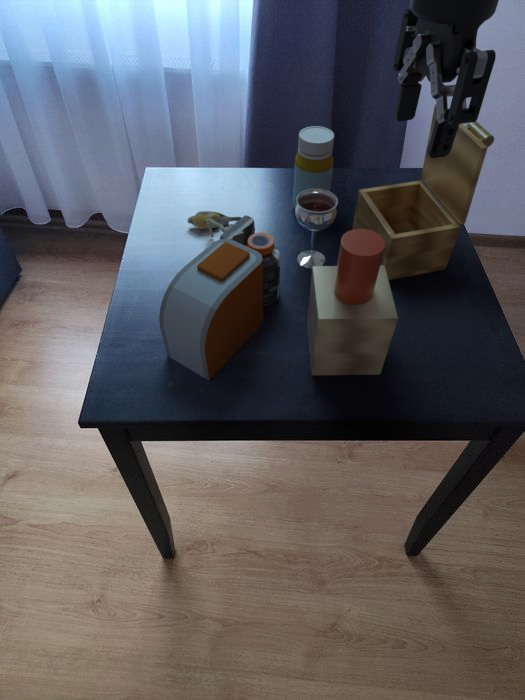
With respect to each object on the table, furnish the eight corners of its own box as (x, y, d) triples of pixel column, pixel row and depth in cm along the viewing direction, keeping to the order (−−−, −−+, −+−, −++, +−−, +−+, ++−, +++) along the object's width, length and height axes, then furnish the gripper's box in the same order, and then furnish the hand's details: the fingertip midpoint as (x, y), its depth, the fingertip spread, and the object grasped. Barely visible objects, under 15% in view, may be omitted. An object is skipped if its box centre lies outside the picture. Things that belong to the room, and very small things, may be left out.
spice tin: (378, 284, 63) (390, 235, 57) (366, 310, 60) (377, 261, 54) (341, 273, 65) (349, 223, 59) (327, 297, 62) (334, 248, 56)
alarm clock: (226, 297, 79) (220, 229, 68) (268, 318, 76) (268, 251, 65) (165, 354, 71) (147, 288, 61) (209, 381, 68) (199, 316, 58)
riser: (369, 323, 75) (384, 265, 66) (380, 374, 69) (398, 318, 59) (306, 324, 75) (312, 265, 66) (311, 375, 69) (318, 319, 59)
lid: (482, 148, 65) (516, 140, 66) (434, 103, 74) (465, 97, 74) (460, 225, 76) (490, 217, 76) (420, 178, 84) (447, 171, 84)
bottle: (334, 212, 94) (344, 137, 82) (305, 223, 91) (311, 148, 80) (314, 194, 97) (321, 121, 86) (285, 205, 95) (288, 131, 84)
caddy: (381, 281, 81) (392, 238, 74) (351, 232, 90) (358, 189, 83) (445, 269, 83) (461, 226, 76) (410, 222, 91) (422, 179, 84)
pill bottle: (284, 288, 80) (287, 233, 71) (270, 312, 77) (271, 257, 68) (253, 278, 82) (251, 223, 73) (237, 301, 78) (233, 246, 70)
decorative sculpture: (186, 227, 91) (181, 193, 85) (231, 211, 94) (228, 177, 88) (226, 276, 82) (223, 241, 76) (274, 257, 85) (274, 222, 79)
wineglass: (303, 276, 82) (307, 217, 73) (285, 252, 86) (288, 194, 77) (337, 265, 84) (346, 206, 74) (318, 243, 88) (325, 184, 78)
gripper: (558, -35, 36) (483, 165, 49) (466, -73, 45) (423, 104, 57) (467, -28, 35) (415, 175, 48) (391, -68, 44) (364, 111, 56)
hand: (419, 136), depth 52 cm, fingers open, 8 cm apart
